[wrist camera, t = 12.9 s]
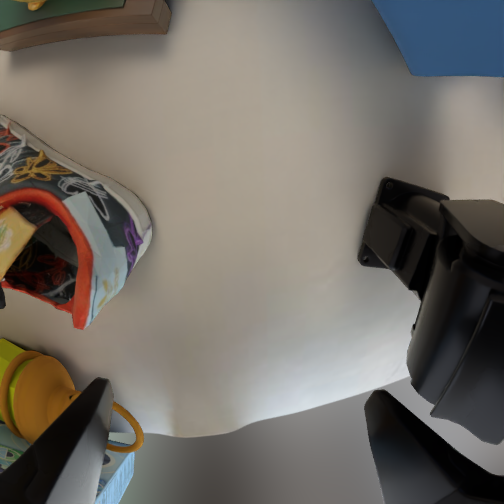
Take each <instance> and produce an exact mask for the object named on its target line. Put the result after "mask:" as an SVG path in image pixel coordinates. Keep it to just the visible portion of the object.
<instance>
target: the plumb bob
mask: <svg viewBox="0 0 504 504" xmlns="http://www.w3.org/2000/svg"><path fill="white" fill-rule="evenodd" d="M81 393H82V392H81V391H76V390H75V387H74V384H73V382H72V379H71V377H70V375H69V373H68V372H67V370H66V369H65V367H63V365H62V364H61V363H60V362H59V361H58V360H57V359H55V358H54V357H51V356H44V355H43V354H41V353H39V352H37V351H25V350H23V349H21V348H19V347H17V346H16V345H14V344H12V343H10V342H9V341H7V340H5V339H4V338H2V339H0V420H2V421H4V422H5V424H6V425H7V427H8V428H9V430H10V431H11V432H12V433H13V434H14V435H16V436H17V437H19V438H21V439H25V440H27V441H28V442H29V443H30V444H33V442H34V441H35V440H36V439H37V438H38V437H39V436H40V435H41V434H42V433H43V432H44V431H45V430H46V429H47V428H48V427H49V426H50V425H51V424H52V423H53V422H54V420H55V419H56V418H57V417H58V416H59V415H60V414H61V413H62V412H63V411H64V410H65V409H66V408H67V407H68V406H69V405H70V404H71V403H72V402H73V401H74V400H75V399H76V398H77V397H78V396H79V395H80V394H81ZM112 409H113V410H115V411H116V412H118V413H119V414H120V415H122V416H123V417H124V418H125V419H126V420H127V421H128V422H129V423H130V425H131V426H132V427H133V429H134V431H135V434H136V441H135V443H134V444H133V445H130V446H126V447H121V446H115V445H112V444H109V443H107V447H106V449H107V450H110V451H114V452H119V453H131V452H134V451H137V450H138V449H139V448H140V447H141V446H142V445H143V442H144V435H143V431H142V429H141V427H140V425H139V423H138V422H137V421H136V419H135V418H134V417H133V416H132V415H131V414H130V413H129V412H128V411H127V410H126V409H124V408H123V407H122V406H120V405H119V404H118V403H116V402H114V401H113V406H112Z"/></svg>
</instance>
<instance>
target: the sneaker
mask: <svg viewBox="0 0 504 504" xmlns="http://www.w3.org/2000/svg"><path fill="white" fill-rule="evenodd" d="M151 237H152V223H151V220H150V218H149V215H148V212H147V210H146V208H145V207H144V205H143V204H142V203H141V201H140V200H139V198H138V197H137V196H136V195H134V194H133V193H132V192H131V191H129V190H128V189H126V188H125V187H123V186H122V185H120V184H119V183H118V182H116V181H115V180H113V179H111V178H109V177H106V176H104V175H101V174H99V173H97V172H94V171H90V170H88V169H86V168H84V167H83V166H81V165H79V164H77V163H76V162H74V161H72V160H70V159H69V158H67V157H65V156H63V155H62V154H60V153H58V152H56V151H55V150H53V149H52V148H50V147H49V146H48V145H46V144H45V143H44V142H42V141H41V140H40V139H39V138H37V137H36V136H35V135H33V134H32V133H31V132H29V131H28V130H27V129H25V128H24V127H22V126H21V125H19V124H18V123H16V122H15V121H12V120H10V119H9V118H8V117H6V116H4V115H0V309H4V307H5V306H6V303H5V295H4V292H3V289H2V288H10V289H13V290H16V291H20V292H23V293H26V294H28V295H31V296H33V297H35V298H37V299H39V300H42V301H44V302H47V303H49V304H51V305H53V306H54V307H55V308H56V309H59V310H63V311H66V312H68V313H71V314H72V318H73V325H74V328H77V329H81V330H83V329H85V328H86V327H87V326H88V325H90V324H91V322H92V321H93V320H94V318H95V317H96V316H97V314H98V313H99V311H100V310H101V309H102V307H103V306H104V305H105V304H106V303H107V302H108V301H109V300H110V299H111V298H113V297H114V296H115V295H116V294H117V293H118V292H119V291H120V290H121V288H122V287H123V286H124V283H125V281H126V279H127V277H128V276H129V274H130V273H131V271H132V269H133V268H134V266H135V265H136V263H137V262H138V260H139V259H140V257H141V256H142V255H143V254H144V252H145V250H146V249H147V247H148V245H149V243H150V242H151Z"/></svg>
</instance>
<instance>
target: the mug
mask: <svg viewBox="0 0 504 504" xmlns="http://www.w3.org/2000/svg"><path fill="white" fill-rule="evenodd" d="M12 1H16V2H22V3H28V9H29V10H31V11H34V10H37V9H39V8H40V7H41V6H42V5H43V4H44V3H45V2H46V1H47V0H12Z"/></svg>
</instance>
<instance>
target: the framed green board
mask: <svg viewBox="0 0 504 504" xmlns="http://www.w3.org/2000/svg"><path fill="white" fill-rule="evenodd" d="M171 14H172V13H171V11H170V10H169V8H168V6H167V4H166V2H165V1H164V0H47V1H46V2H45V3H44V4H43V5H42V6H41V7H40V8H39V9H37V10H34V11H31V10H29V9H28V3H22V2H16V1H12V0H0V50H3V51H10V52H11V51H14V50H18V49H22V48H27V47H31V46H36V45H41V44H46V43H51V42H57V41H63V40H70V39H77V38H86V37H96V36H108V35H127V34H167V31H168V27H169V22H170V18H171Z"/></svg>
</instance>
